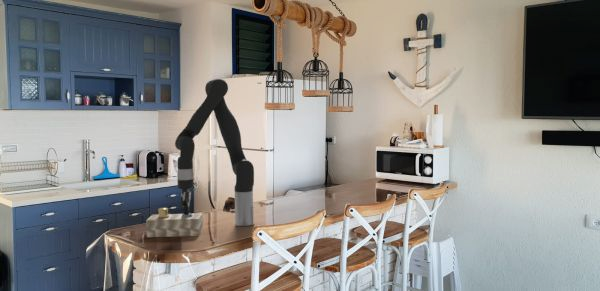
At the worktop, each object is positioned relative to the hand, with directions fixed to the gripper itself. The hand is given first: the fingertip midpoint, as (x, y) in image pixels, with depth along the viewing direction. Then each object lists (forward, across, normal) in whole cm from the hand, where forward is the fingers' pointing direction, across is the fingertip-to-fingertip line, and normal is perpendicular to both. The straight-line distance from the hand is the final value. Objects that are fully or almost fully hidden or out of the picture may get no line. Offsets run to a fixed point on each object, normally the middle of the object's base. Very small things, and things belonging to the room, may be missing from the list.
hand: (186, 214), depth 228 cm
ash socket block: (+9, 0, +5) cm, 11 cm away
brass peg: (+5, 0, +11) cm, 12 cm away
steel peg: (+8, 0, 0) cm, 8 cm away
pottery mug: (+9, +52, -17) cm, 56 cm away
